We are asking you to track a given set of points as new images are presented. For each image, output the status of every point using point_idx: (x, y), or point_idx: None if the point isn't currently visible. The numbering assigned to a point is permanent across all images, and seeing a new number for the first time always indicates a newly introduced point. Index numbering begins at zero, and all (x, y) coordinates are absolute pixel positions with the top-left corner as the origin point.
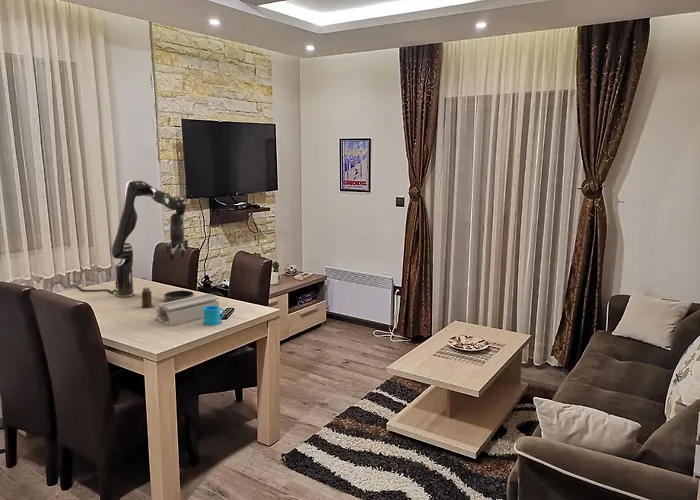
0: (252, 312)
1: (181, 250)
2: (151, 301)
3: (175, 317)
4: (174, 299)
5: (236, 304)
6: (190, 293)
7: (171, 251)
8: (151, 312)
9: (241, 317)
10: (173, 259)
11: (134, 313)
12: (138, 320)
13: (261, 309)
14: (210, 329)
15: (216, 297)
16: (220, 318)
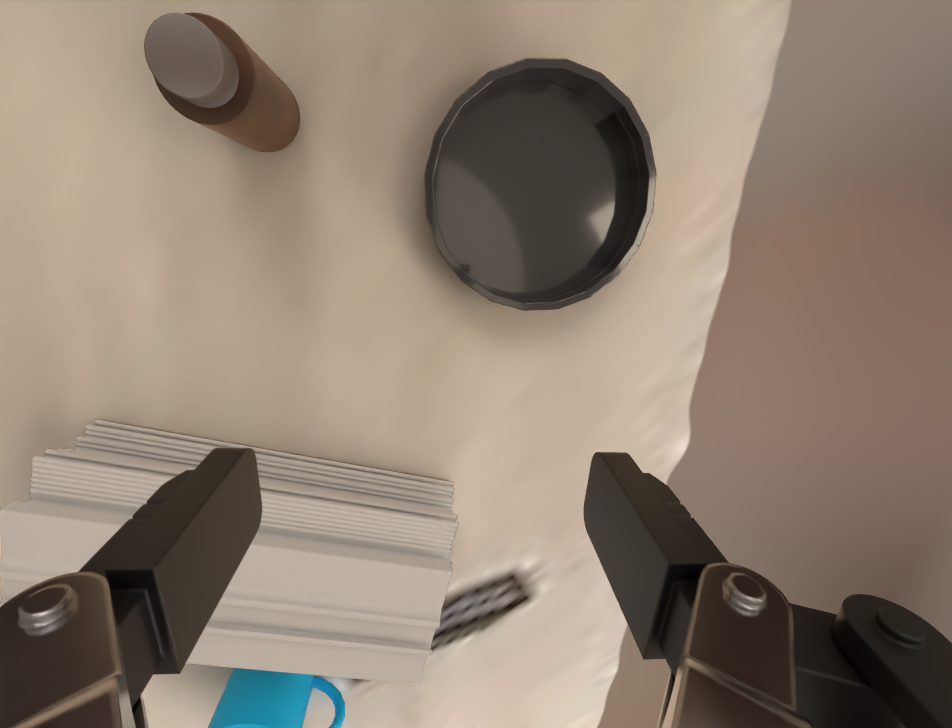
0: (510, 697)
1: (695, 583)
2: (272, 138)
3: None
4: (437, 246)
5: (594, 565)
6: (634, 223)
7: (113, 671)
8: (184, 268)
9: (419, 708)
10: (248, 536)
11: (80, 174)
12: (8, 334)
13: (570, 697)
14: (197, 722)
15: (408, 676)
16: (320, 689)
